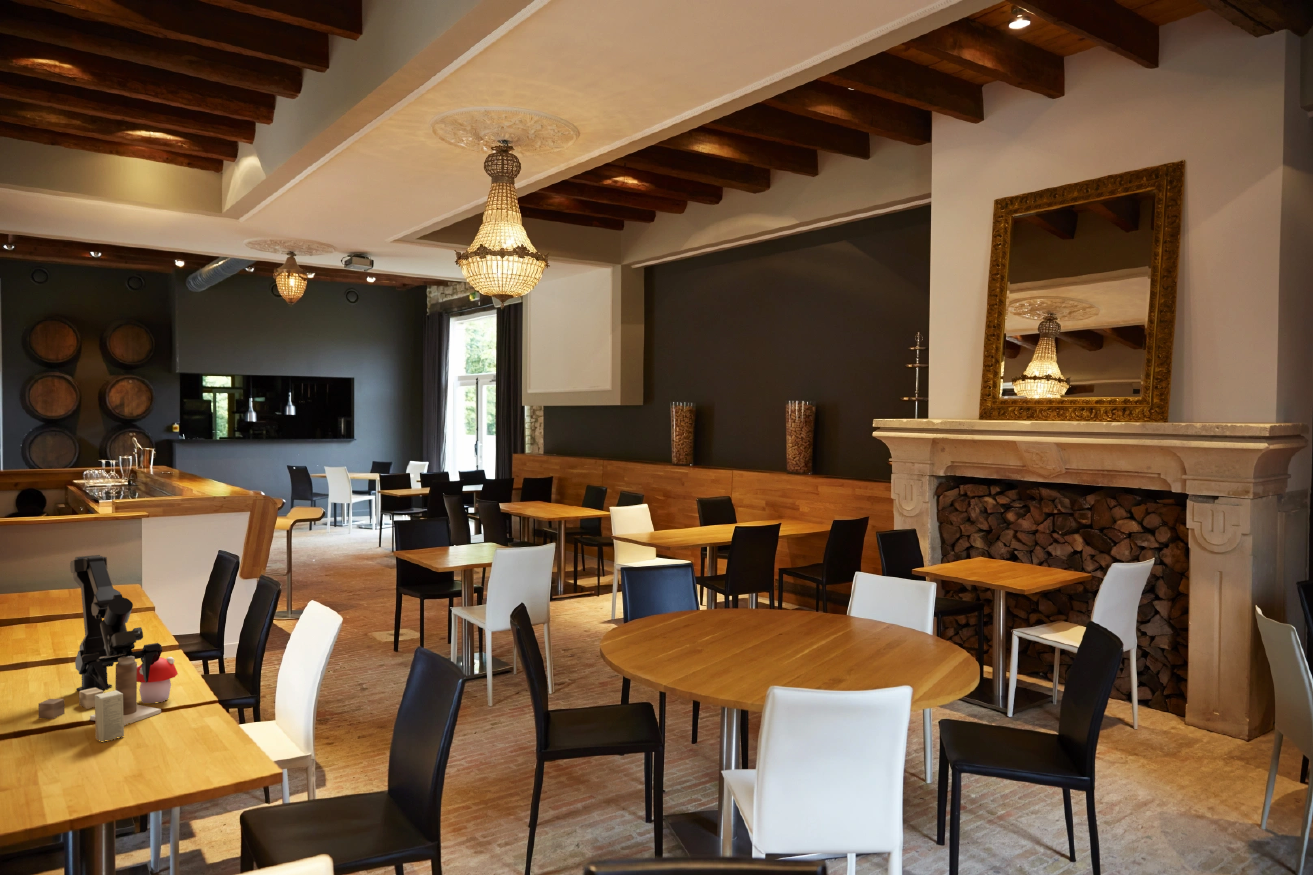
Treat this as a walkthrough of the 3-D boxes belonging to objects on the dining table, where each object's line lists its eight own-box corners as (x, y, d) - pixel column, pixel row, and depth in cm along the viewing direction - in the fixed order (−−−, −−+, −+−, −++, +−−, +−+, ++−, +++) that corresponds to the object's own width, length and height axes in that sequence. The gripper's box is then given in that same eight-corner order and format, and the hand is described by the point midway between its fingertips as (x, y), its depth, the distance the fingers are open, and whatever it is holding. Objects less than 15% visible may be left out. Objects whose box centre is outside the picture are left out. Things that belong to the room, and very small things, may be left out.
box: (118, 733, 215) (118, 689, 214) (124, 737, 212) (124, 692, 212) (94, 739, 211) (94, 694, 210) (100, 743, 208) (100, 698, 208)
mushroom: (127, 707, 234) (127, 663, 234) (139, 695, 244) (140, 653, 244) (170, 704, 237) (170, 661, 236) (181, 692, 247) (181, 651, 247)
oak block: (79, 705, 235) (79, 690, 235) (95, 701, 239) (95, 687, 239) (86, 709, 232) (86, 694, 232) (103, 705, 236) (103, 690, 236)
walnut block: (38, 718, 225) (38, 703, 225) (49, 713, 229) (49, 698, 229) (53, 718, 225) (53, 703, 224) (64, 713, 229) (64, 698, 228)
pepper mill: (110, 714, 225) (111, 659, 225) (123, 709, 229) (123, 655, 229) (128, 715, 224) (129, 660, 224) (140, 709, 229) (141, 655, 229)
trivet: (90, 719, 224) (90, 715, 224) (129, 706, 234) (129, 703, 234) (122, 726, 220) (122, 722, 220) (160, 712, 230) (160, 709, 230)
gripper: (80, 624, 222) (92, 675, 215) (160, 613, 236) (173, 661, 229) (73, 648, 228) (83, 699, 221) (151, 636, 242) (163, 684, 234)
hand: (127, 685), depth 226 cm, fingers open, 9 cm apart
